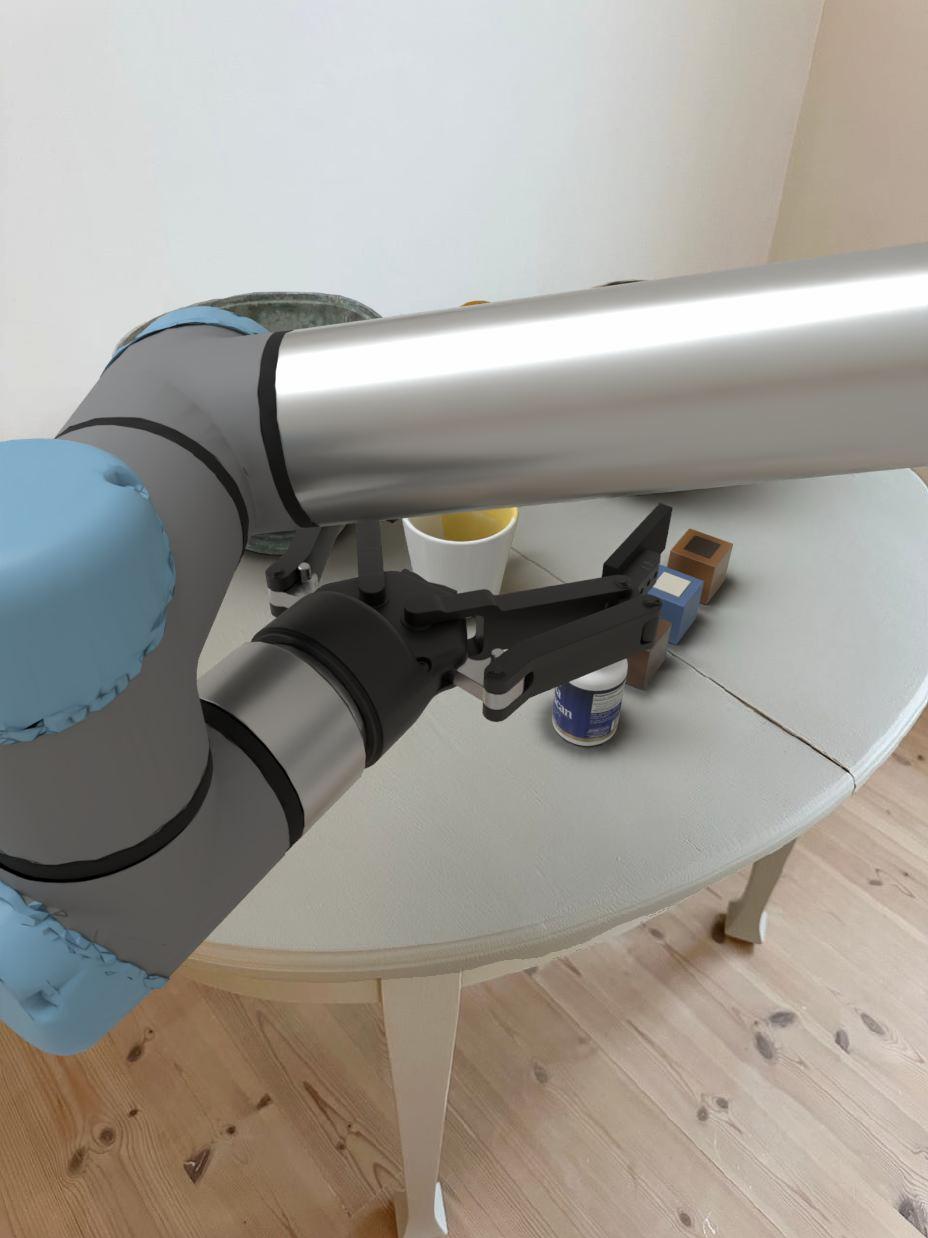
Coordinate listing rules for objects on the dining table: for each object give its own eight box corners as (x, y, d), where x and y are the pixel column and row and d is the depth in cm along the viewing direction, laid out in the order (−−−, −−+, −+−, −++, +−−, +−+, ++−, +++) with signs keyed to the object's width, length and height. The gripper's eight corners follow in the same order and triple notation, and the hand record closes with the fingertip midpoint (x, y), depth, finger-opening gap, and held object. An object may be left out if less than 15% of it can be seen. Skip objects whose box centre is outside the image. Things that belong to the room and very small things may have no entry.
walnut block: (664, 661, 84) (672, 621, 81) (642, 690, 81) (650, 650, 78) (618, 641, 86) (625, 602, 83) (595, 670, 83) (601, 630, 80)
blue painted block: (695, 619, 89) (704, 580, 86) (676, 645, 86) (684, 606, 83) (651, 601, 91) (658, 562, 88) (630, 627, 88) (637, 587, 85)
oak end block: (724, 581, 93) (733, 542, 90) (706, 605, 90) (715, 566, 87) (681, 565, 95) (689, 527, 92) (662, 588, 92) (670, 549, 89)
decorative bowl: (463, 532, 98) (457, 345, 85) (239, 637, 86) (194, 437, 73) (325, 438, 114) (303, 269, 101) (121, 514, 102) (67, 334, 89)
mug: (455, 652, 85) (456, 557, 78) (381, 598, 90) (377, 505, 83) (559, 588, 92) (568, 496, 85) (485, 542, 98) (488, 452, 91)
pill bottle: (538, 712, 79) (547, 623, 73) (593, 692, 81) (606, 603, 75) (573, 757, 75) (586, 666, 69) (630, 734, 77) (647, 644, 71)
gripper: (122, 660, 48) (379, 476, 62) (555, 903, 38) (749, 618, 51) (86, 538, 43) (374, 368, 57) (571, 779, 33) (781, 500, 46)
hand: (552, 486), depth 54 cm, fingers open, 13 cm apart
